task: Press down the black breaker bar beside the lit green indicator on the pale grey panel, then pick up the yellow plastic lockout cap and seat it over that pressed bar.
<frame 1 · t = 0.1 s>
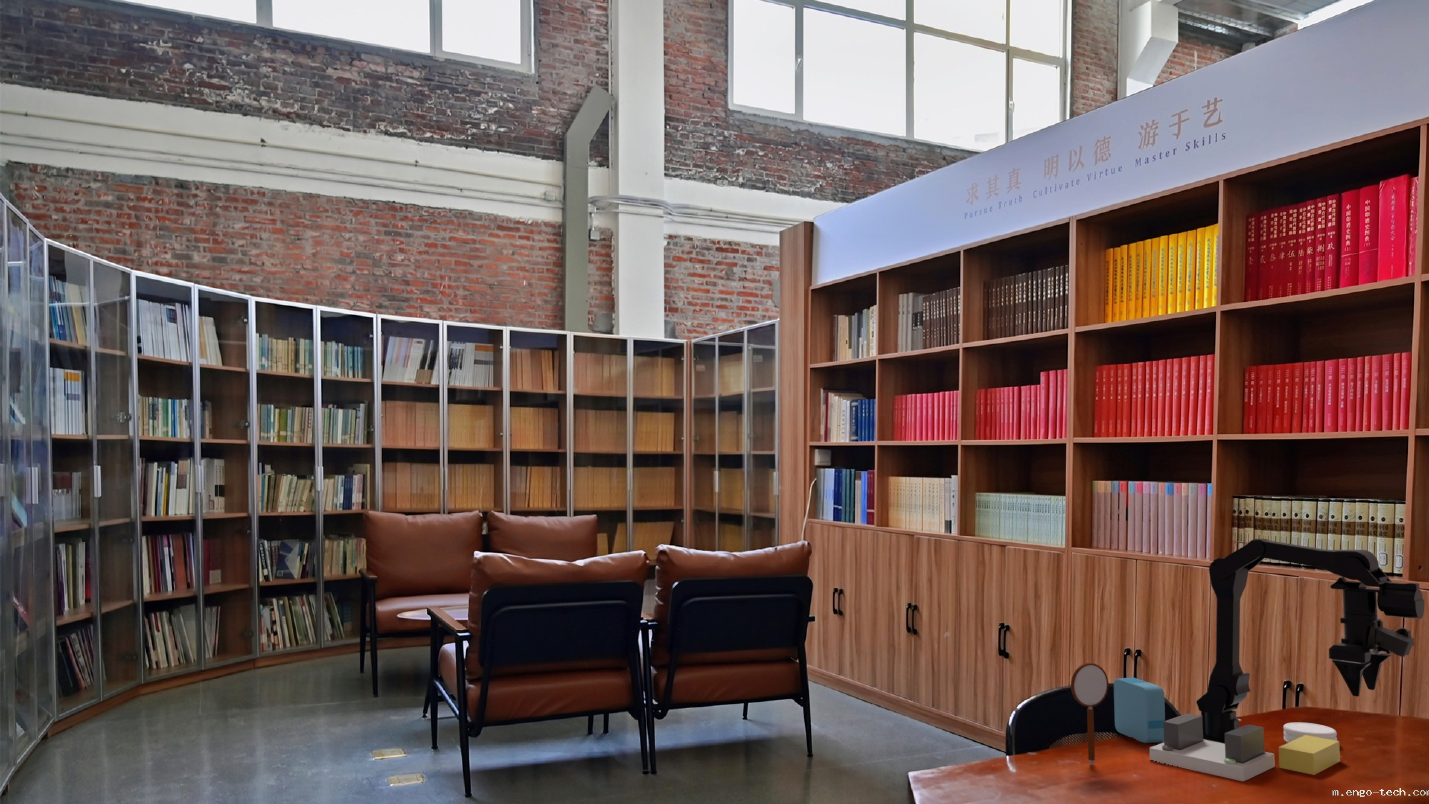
hand: (1363, 692, 196), 15 cm above the table, fingers open, 9 cm apart
magnifying glass: (1091, 765, 197), on the table
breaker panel: (1211, 763, 198), on the table
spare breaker: (1183, 731, 204), point 5 cm above the table, slide at 0.0 cm
lockout cap: (1310, 764, 198), on the table
tagged breaker: (1244, 743, 195), point 5 cm above the table, slide at 0.0 cm
data package: (1139, 738, 218), on the table
coaster: (1310, 744, 214), on the table
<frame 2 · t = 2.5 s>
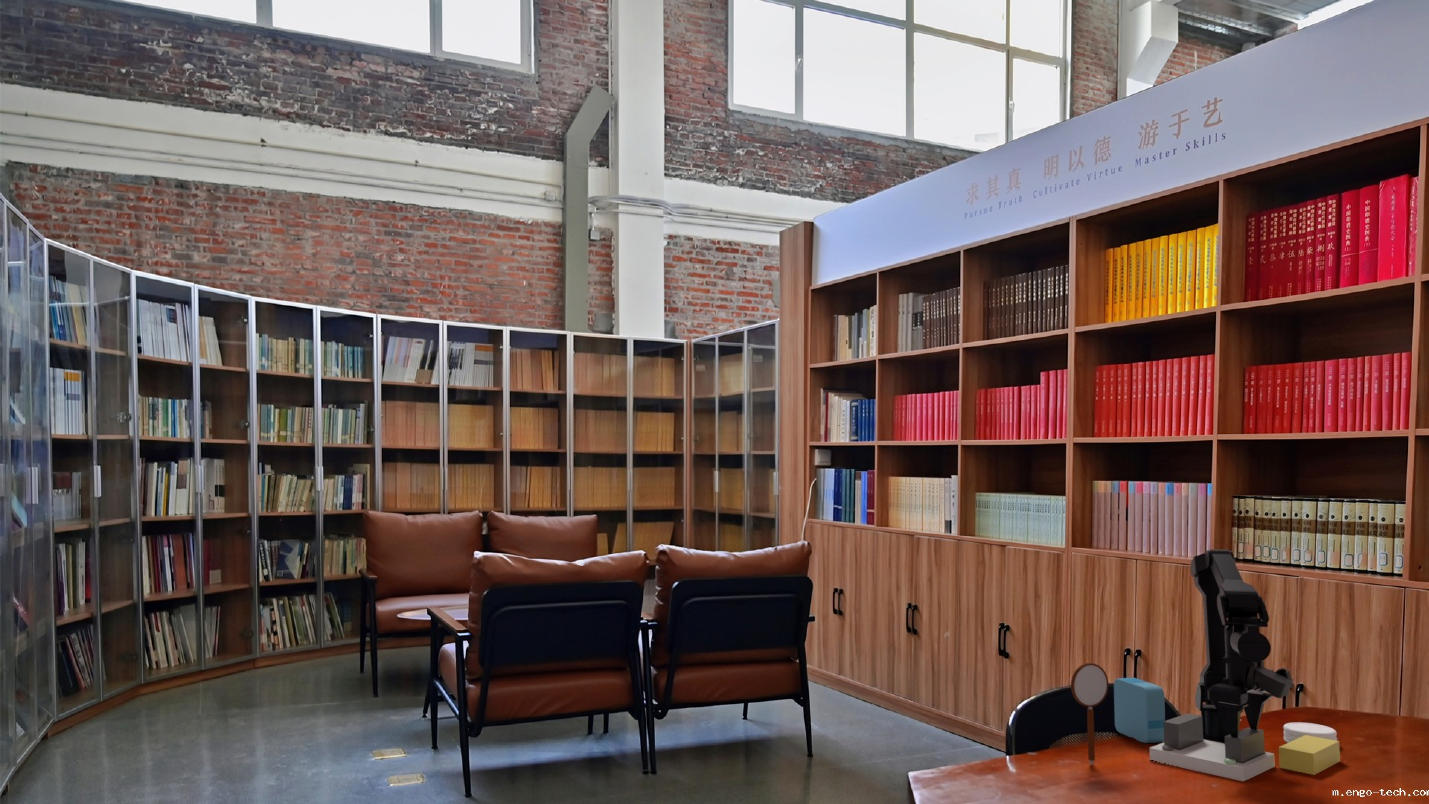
hand: (1244, 733, 195), 7 cm above the table
tagged breaker: (1244, 746, 195), point 4 cm above the table, slide at 0.6 cm, touching gripper
everything else where it was.
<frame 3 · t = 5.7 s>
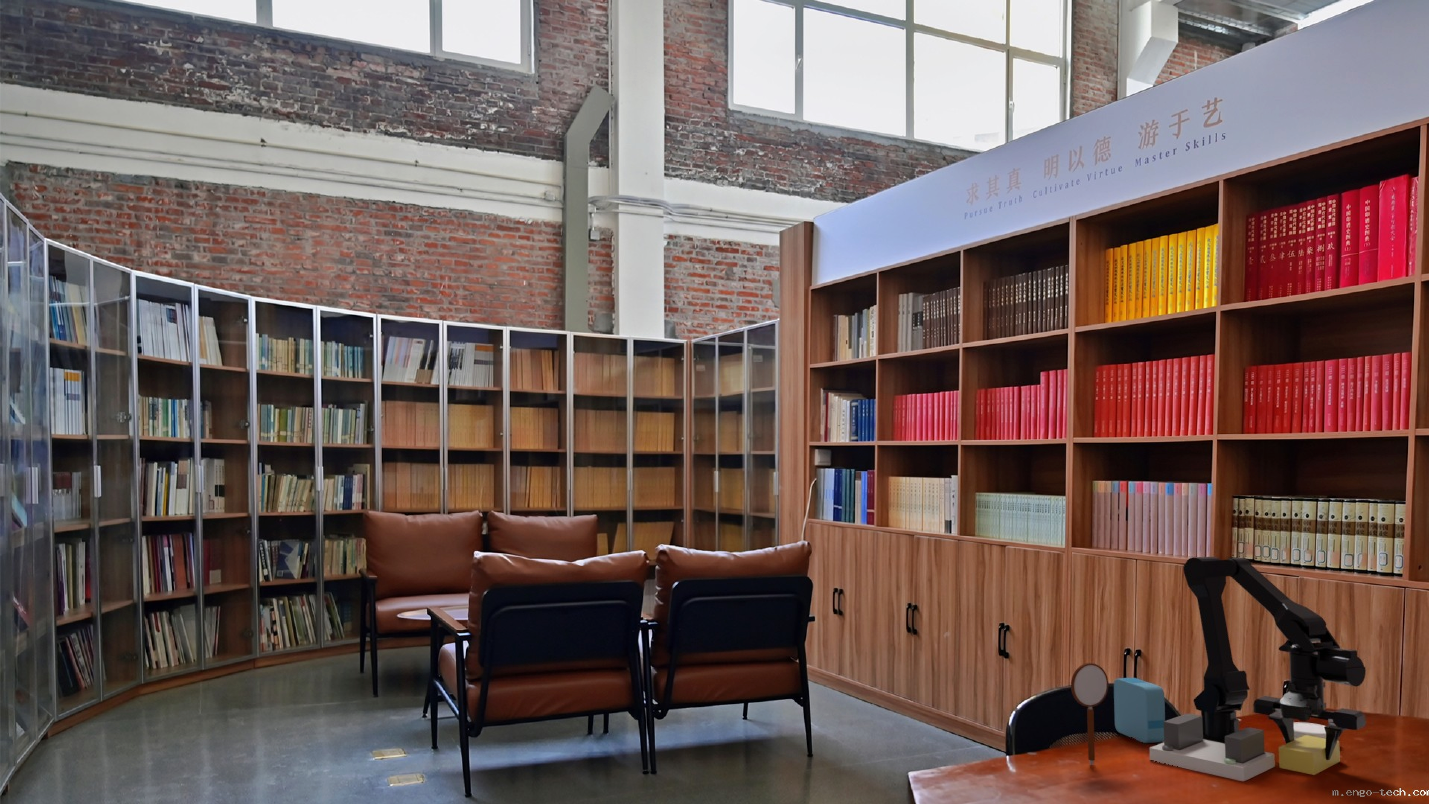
hand: (1309, 756, 198), 2 cm above the table, fingers closed on lockout cap, 6 cm apart
lockout cap: (1310, 764, 198), on the table, touching gripper
tagged breaker: (1244, 747, 195), point 4 cm above the table, slide at 0.6 cm
everything else where it was.
when the fingers open (6 cm above the table, at t = 10.0 s): lockout cap drops 1 cm, resting on tagged breaker.
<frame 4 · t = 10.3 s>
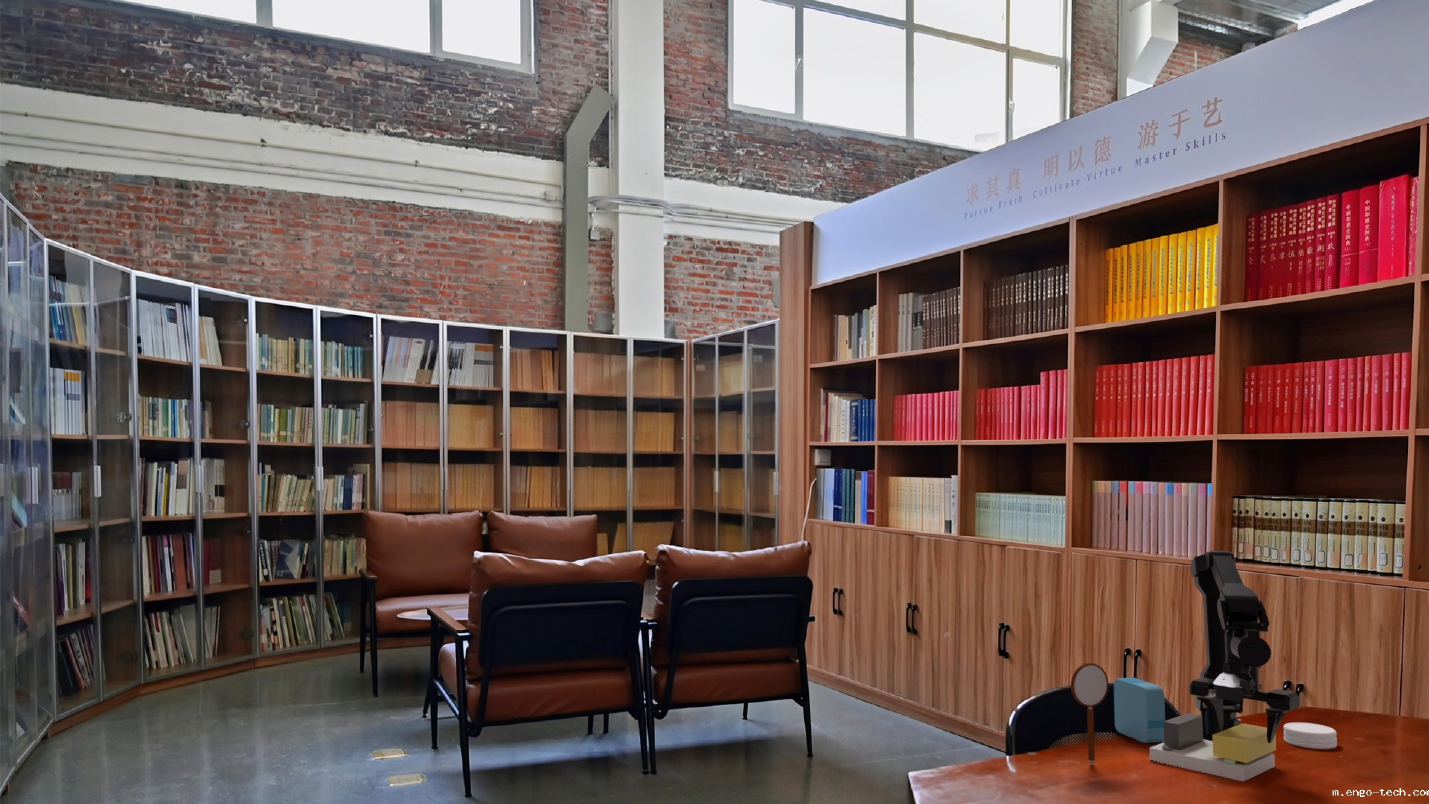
hand: (1244, 737, 195), 6 cm above the table, fingers open, 9 cm apart
lockout cap: (1245, 752, 195), point 3 cm above the table, touching tagged breaker
tagged breaker: (1245, 748, 195), point 4 cm above the table, slide at 1.0 cm, touching lockout cap
everything else where it was.
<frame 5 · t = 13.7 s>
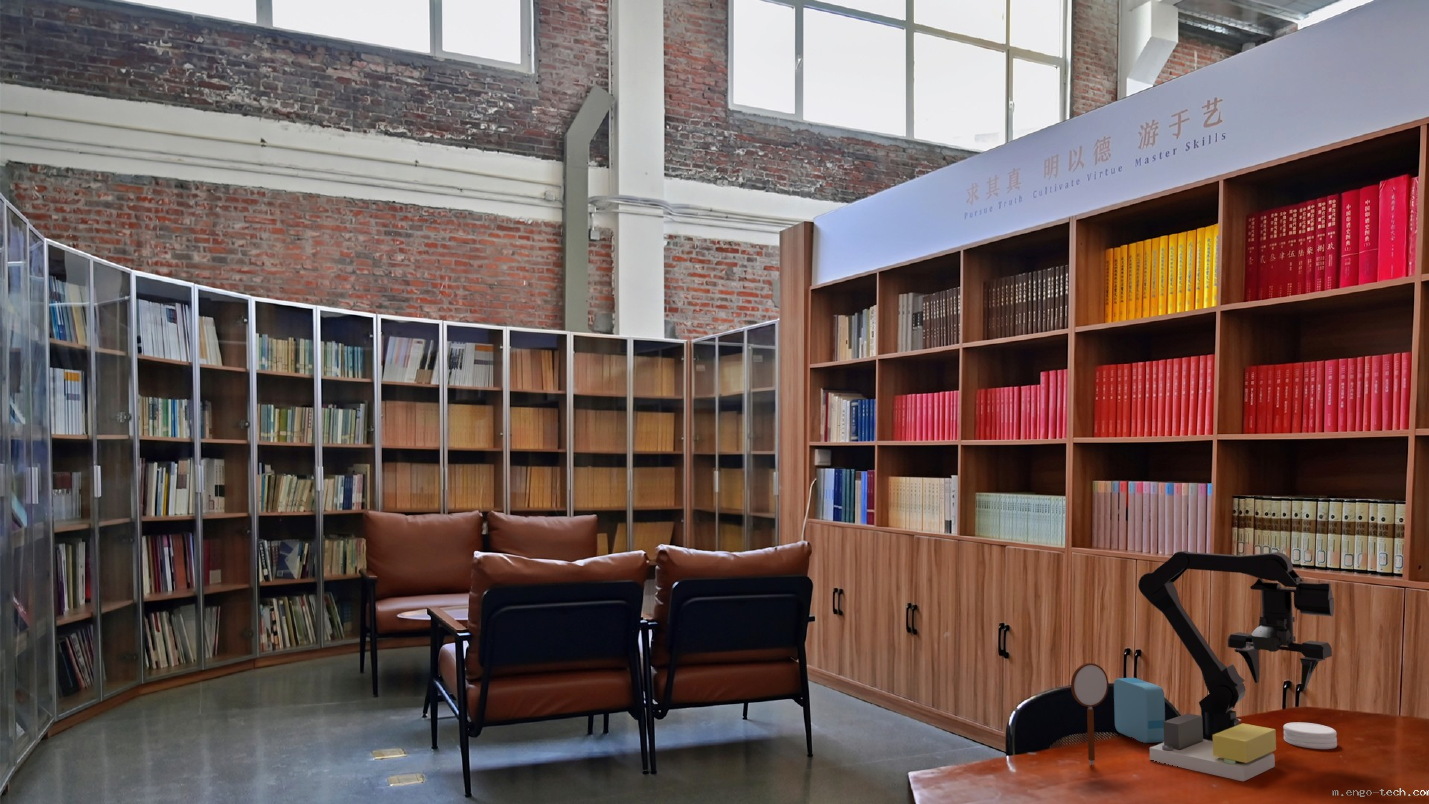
hand: (1279, 686, 210), 13 cm above the table, fingers open, 9 cm apart
nothing on the table moved.
at the end: tagged breaker slide at 1.0 cm; lockout cap 0.0 cm from the target spot, point 3.1 cm above the table; lockout cap tilted 0° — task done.
